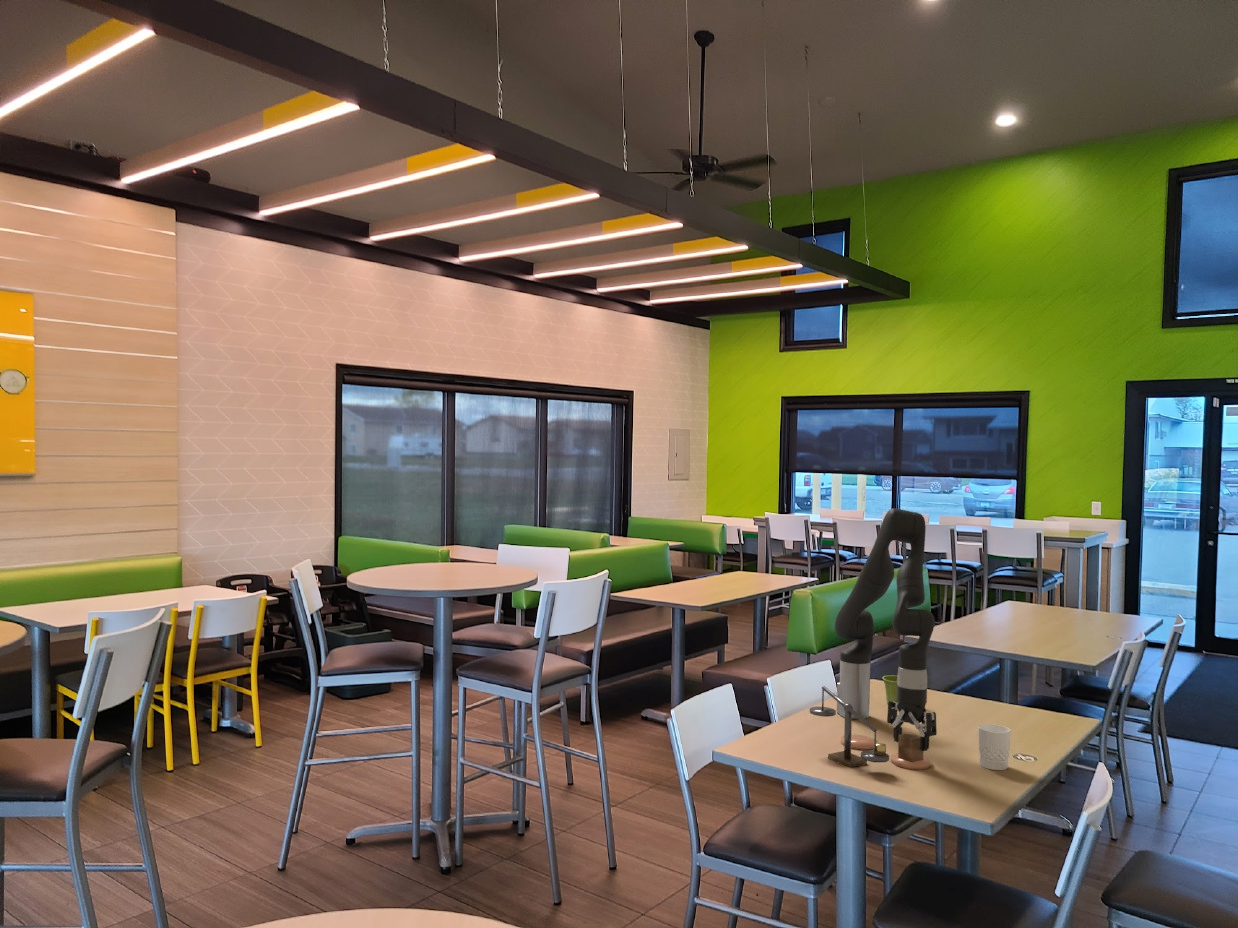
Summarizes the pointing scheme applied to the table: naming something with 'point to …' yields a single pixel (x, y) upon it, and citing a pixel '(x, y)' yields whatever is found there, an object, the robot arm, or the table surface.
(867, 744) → the dish left
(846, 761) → the balance
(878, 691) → the table surface
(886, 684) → the plant pot
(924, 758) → the dish right
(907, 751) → the walnut block
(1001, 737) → the white cup
